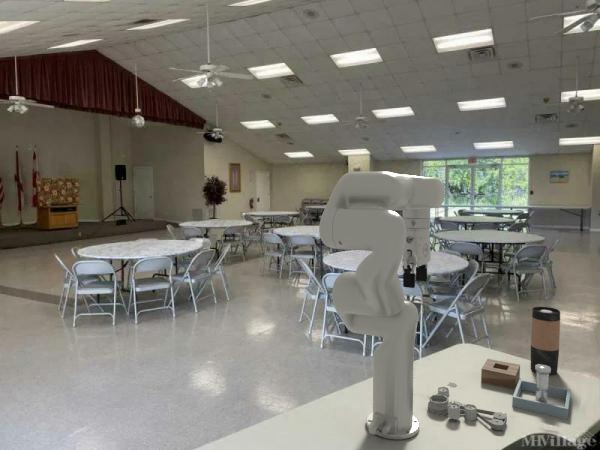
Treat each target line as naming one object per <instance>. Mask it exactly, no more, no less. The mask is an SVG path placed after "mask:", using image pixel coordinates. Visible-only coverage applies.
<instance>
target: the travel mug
mask: <svg viewBox="0 0 600 450" xmlns="http://www.w3.org/2000/svg"><path fill="white" fill-rule="evenodd" d="M531 313H532V314H531V332H530V334H531V335H530V371H532V372H534V373H535V374H537V371H536V370H535V365H537V364H542V365H547V366H549V367H550V368H551V373H549V377H550V376H556V375H557V374H558V368H559V367H558V365H559V354H560V333H561V332H560V331H561V330H560V329H561V310H559V309H557V308H555V307H548V306H534V307H533V308H532V312H531Z"/></svg>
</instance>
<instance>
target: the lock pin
mask: <svg viewBox="0 0 600 450" xmlns="http://www.w3.org/2000/svg"><path fill="white" fill-rule="evenodd" d="M535 370H536V371H537V373H536V381H535V383H536V393H535V401H539V402H544V403H548V400H549V395H548V385H549V380H550V379H549V377H550V376H549V373H551V368H550V367H549V366H547V365H542V364H537V365H535ZM548 404H549V403H548Z"/></svg>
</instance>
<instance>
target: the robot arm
mask: <svg viewBox="0 0 600 450" xmlns="http://www.w3.org/2000/svg"><path fill="white" fill-rule="evenodd" d="M445 194H446V192H445V185H444V183H443V181H442V180H441V179H439V178H436V177H429V176H417V175H413V174H412V175H409V174H400V173H396V172H391V171H386V170H385V171H384V170H383V171H382V170H381V171H349V172H347V173H345V174H344V175H342V176H341V177H340V178H339V179H338V181H337V183H336V184H335V186H334V188H333V189H332V192H331V194H330V197H329V199H328V201H327V203H326V205H325V207H324V210H323V212H322V214H321V218H320V221H319V227H318V230H319V232H318V233H319V237H320V241H321V242H322V243H323V244H324V246H325V247H328V248H330V249H335V250H336V249H337V250H346V251H347V250H348V251H349V250H350V251H367V252H368V251H369V252H371V253H369V254H368V255H367V256H365V257H364V259H362V260H361V262H360V263H359V265H358V266H356V267H357V268H356V270H355V271H344V272H342V273H340V274H339V275H338V276H337V277H336V278H335V280H334V281H333V286H332V292H331V293H332V295H331V296H332V303H333V306H334V309H335V311H336V312H337V314H338V316H339V318H340V319H341V321H342V323H343V325H344V326H345V328H346V329H347V330H348V331H349V332H350V333H354V334H359V335H365V336H366V335H367V336H373V337H377V338H382V339H383V341H382V342H380V343H379V345H377V347H376V349H375V350H374V352H373V356H372V411H371V413H369V414H368V415H367V416H366V420H365V421H366V427H367V429H368V433H369V434H370V435H377V436H378V437H380V438H384V439H389V440H406V439H410V438H412V437H414V436H416V435H417V434H418V433H419V431H420V422H419V420H418V418H416V417H415V415H413V413H414V364H415V363H414V357H415V356H414V355H415V341H416V334H417V328H418V324H419V323H418V322H419V311H418V309H417V306H416V304H414V302H412V301H409V300H407V299H405V293H404V289H403V287H404V288H409V289H414V288H415V287H416V281H417V282H424V283H425V282H427V281H428V263H429V262H430V261H431V239H430V236H431V235H430V230H431V209H438V208H440V207H441V206H442V204H443V203H444V201H445ZM396 211H402V215H401V214H399V213H398V212H396ZM401 262H402V266H401V267H402V277H403V278H402V284H401V280H400V277H399V275H398V271H399V269H400V265H401Z"/></svg>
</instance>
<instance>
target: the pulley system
mask: <svg viewBox="0 0 600 450" xmlns="http://www.w3.org/2000/svg"><path fill="white" fill-rule="evenodd" d="M446 386H447V387H446ZM446 386H440V387H438V388H437V394H432V395H431V396H429V397H428V400H429V401H428V402H427V410H428V412H430V413H432V414H433V415H436V416H440V417H442V416H445V417H446V416H447V417H448V418H450V419H452V420H455V419H456V420H459V419H460V418H461V417H462V416H461V415H464V418H465V419H466V420H467V421H474V420H477V419H478V418H479V419H480V420H482V421H483V422H484V423H486V424H487V425H489V426H490V428H491V429H494V430H497V431H500V430H504V429H505V427H506V424H507V422H508V418H507V417H508V416H507V414H505V413H503V412H497V411H496V412H495V411H490V410H485V409H480V408H477V406H476V405H475V404H470V403H469V404H465V405H463V406H462V405H460V404H459V403H457V402H455V400H453V402H449V396H450V389H449V388H448V387H450V388H455V387H457V386H458V384H457V383H456V382H448V384H446ZM481 414H482V415H489V416H493V418H491V419H490V421H489V420H488V419H487V418H485V417H484V416H482V415H481Z"/></svg>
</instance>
